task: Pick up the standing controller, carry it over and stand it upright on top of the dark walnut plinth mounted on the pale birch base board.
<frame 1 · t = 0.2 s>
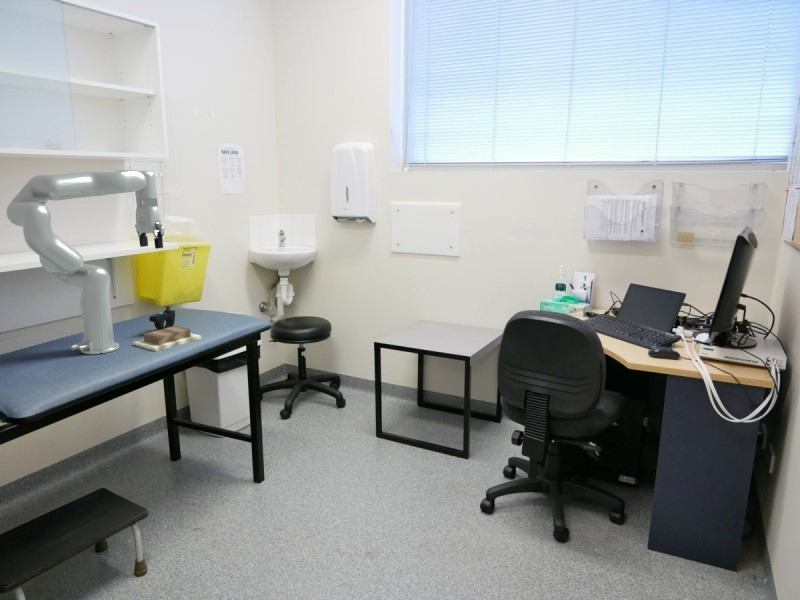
hand: (151, 247, 217), 36 cm above the table, tool pointing down, fingers open, 9 cm apart
base board: (168, 341, 214), on the table
controller: (164, 332, 228), on the table
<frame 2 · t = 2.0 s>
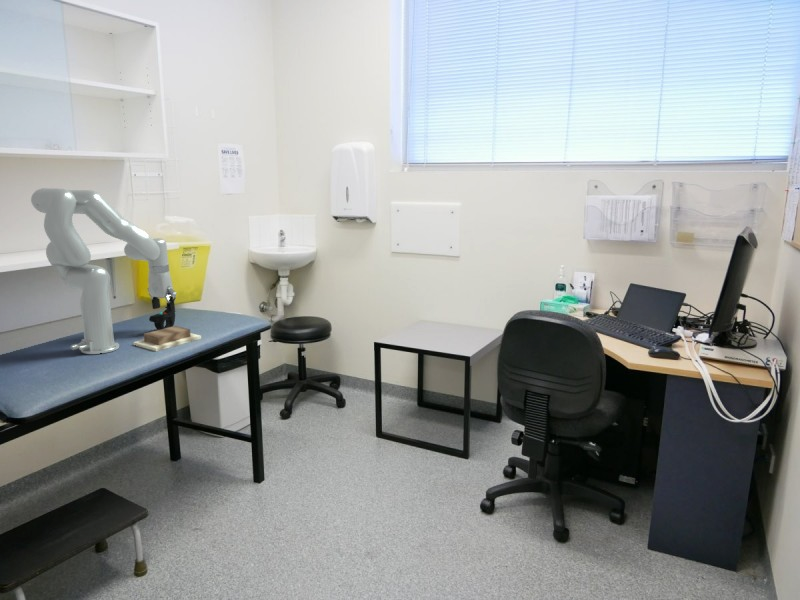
hand: (163, 309, 227), 9 cm above the table, tool pointing down, fingers open, 9 cm apart
nothing on the table moved.
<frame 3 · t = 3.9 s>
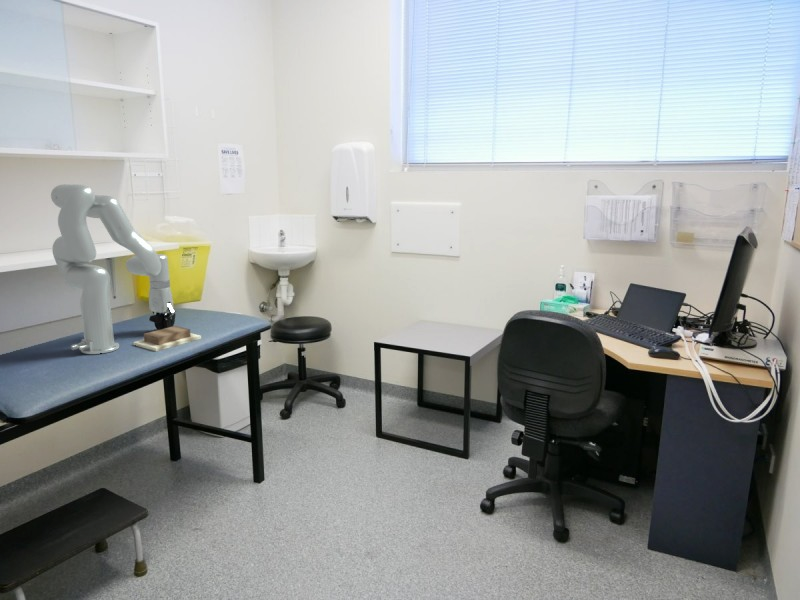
hand: (163, 327, 228), 2 cm above the table, tool pointing down, fingers closed on controller, 4 cm apart
controller: (164, 332, 228), on the table, touching gripper
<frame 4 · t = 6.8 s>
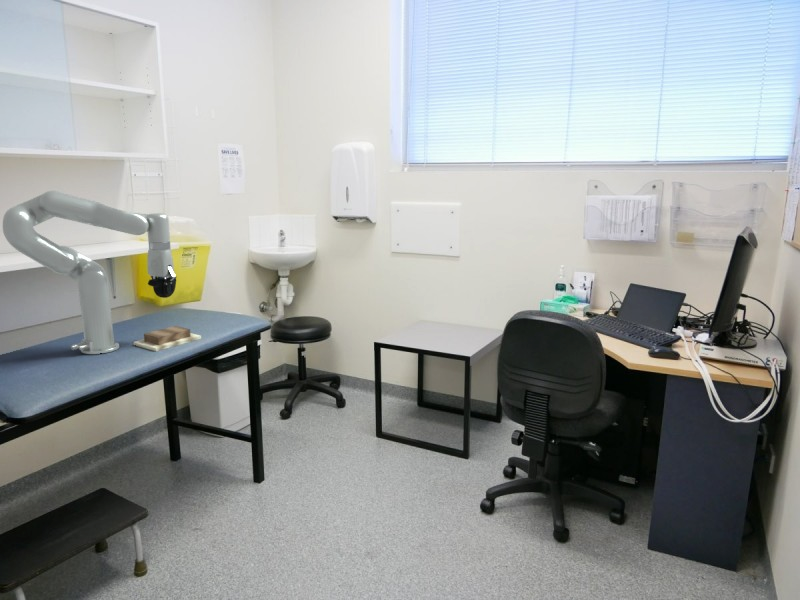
hand: (163, 293, 212), 19 cm above the table, tool pointing down, fingers closed on controller, 4 cm apart
controller: (163, 298, 212), point 17 cm above the table, touching gripper
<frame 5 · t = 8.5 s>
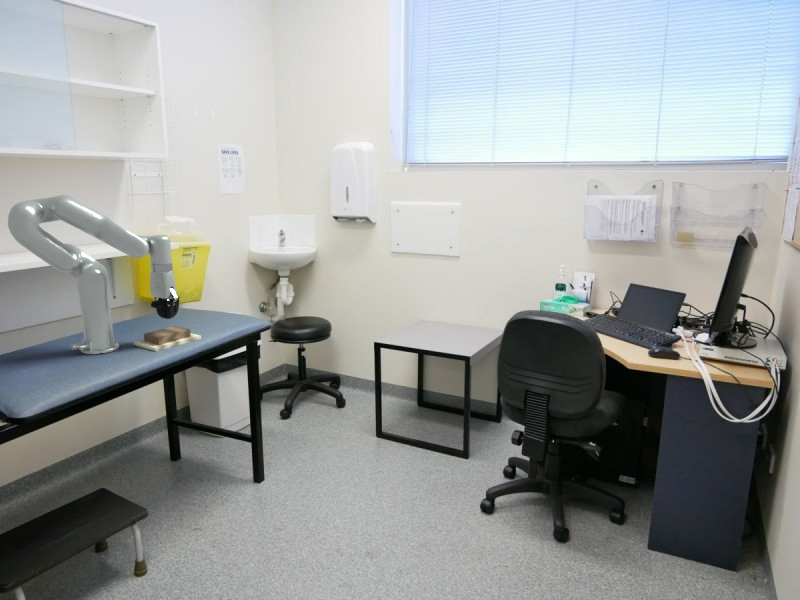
hand: (166, 314, 212), 11 cm above the table, tool pointing down, fingers closed on controller, 4 cm apart
controller: (167, 319, 213), point 9 cm above the table, touching gripper
when the fingers open (7 cm above the table, at t = 10.0 s): controller drops 1 cm, resting on base board.
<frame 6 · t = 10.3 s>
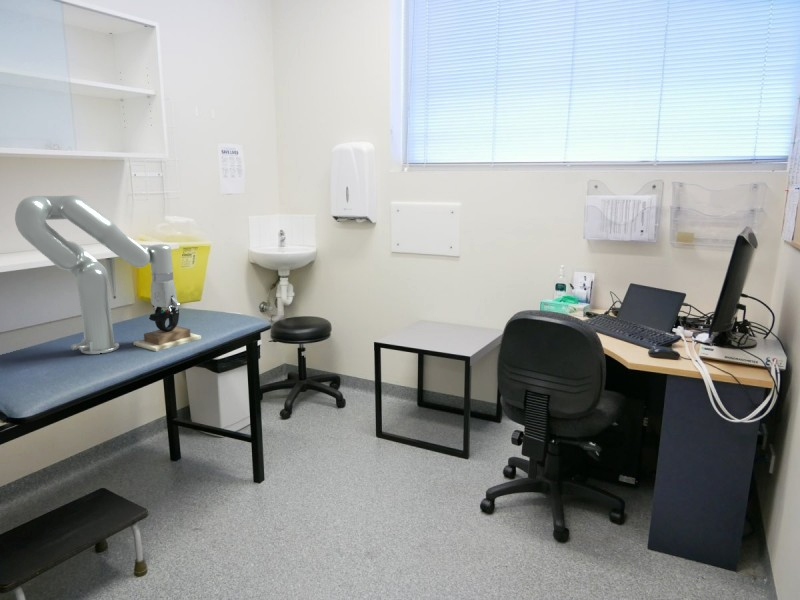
hand: (166, 321, 213), 8 cm above the table, tool pointing down, fingers open, 7 cm apart
controller: (166, 331, 213), point 4 cm above the table, touching base board
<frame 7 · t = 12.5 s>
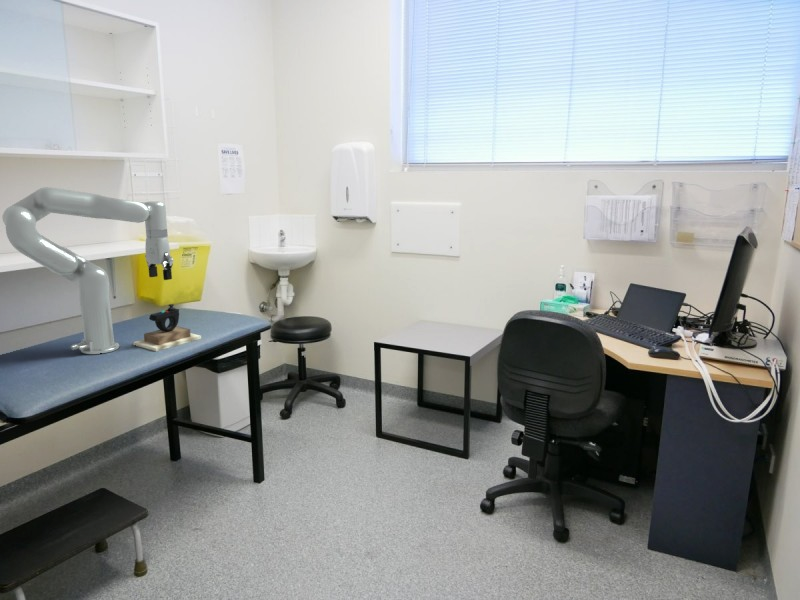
hand: (160, 278, 214), 24 cm above the table, tool pointing down, fingers open, 9 cm apart
nothing on the table moved.
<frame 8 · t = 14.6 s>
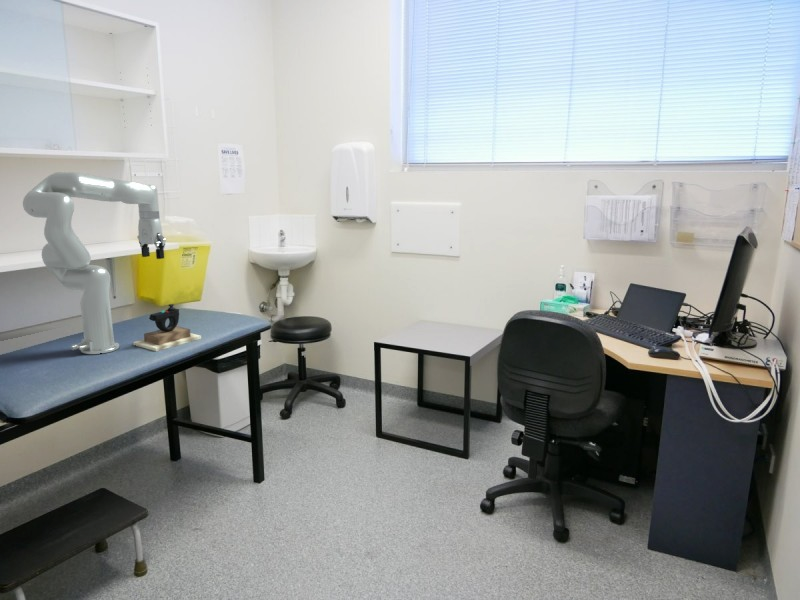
hand: (153, 257, 226), 30 cm above the table, tool pointing down, fingers open, 9 cm apart
nothing on the table moved.
at the end: controller inside the target area on the base board (0.4 cm from its centre), point 4.0 cm above the base board's base; controller tilted 0°; the gripper is holding nothing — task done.
